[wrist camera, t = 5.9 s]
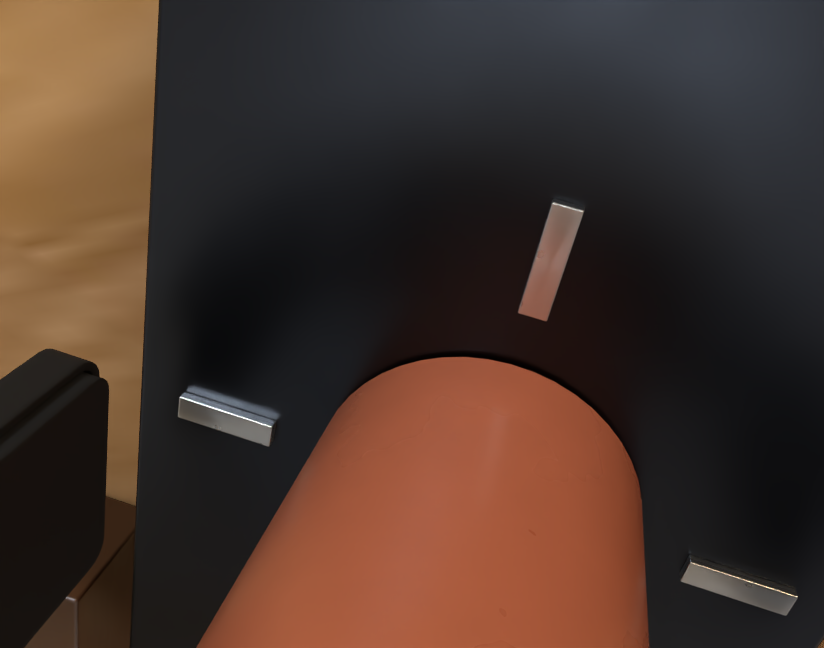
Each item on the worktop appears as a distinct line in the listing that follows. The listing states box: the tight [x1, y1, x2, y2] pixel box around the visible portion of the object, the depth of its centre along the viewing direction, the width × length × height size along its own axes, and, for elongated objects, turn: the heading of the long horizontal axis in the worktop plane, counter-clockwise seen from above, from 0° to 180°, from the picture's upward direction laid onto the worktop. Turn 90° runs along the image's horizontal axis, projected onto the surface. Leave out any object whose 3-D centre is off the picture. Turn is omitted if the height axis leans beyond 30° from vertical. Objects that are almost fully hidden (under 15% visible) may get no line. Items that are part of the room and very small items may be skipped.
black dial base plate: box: [130, 0, 824, 648], centre depth 11 cm, size 14×10×3 cm
